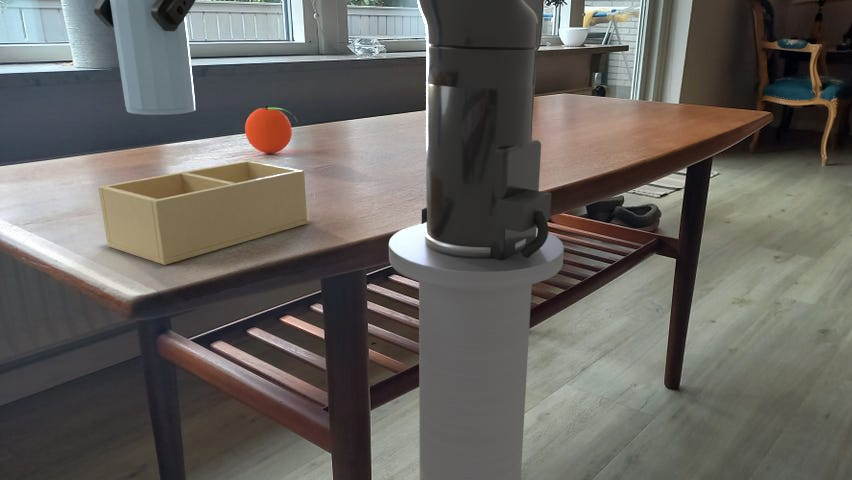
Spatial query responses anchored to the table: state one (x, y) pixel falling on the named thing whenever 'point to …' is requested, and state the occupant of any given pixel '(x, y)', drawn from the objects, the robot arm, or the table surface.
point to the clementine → (268, 130)
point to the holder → (202, 209)
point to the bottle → (152, 61)
